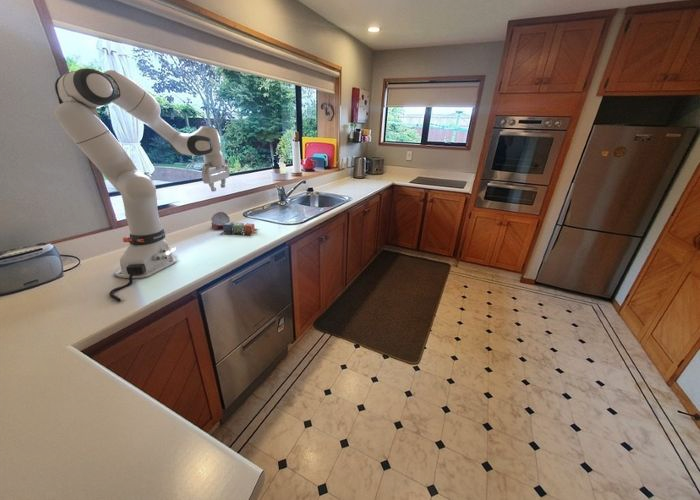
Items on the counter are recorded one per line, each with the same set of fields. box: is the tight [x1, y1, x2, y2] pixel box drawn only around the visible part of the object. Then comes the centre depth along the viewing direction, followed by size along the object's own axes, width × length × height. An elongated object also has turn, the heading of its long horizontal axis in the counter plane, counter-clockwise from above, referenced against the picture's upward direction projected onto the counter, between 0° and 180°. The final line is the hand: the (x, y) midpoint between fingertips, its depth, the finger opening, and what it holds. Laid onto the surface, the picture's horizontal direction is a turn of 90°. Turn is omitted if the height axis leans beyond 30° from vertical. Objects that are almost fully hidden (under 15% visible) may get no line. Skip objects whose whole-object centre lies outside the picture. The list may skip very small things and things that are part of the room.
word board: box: [219, 228, 258, 237], centre depth 159 cm, size 12×17×1 cm
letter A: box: [233, 222, 245, 233], centre depth 158 cm, size 4×4×4 cm
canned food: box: [210, 211, 231, 231], centre depth 164 cm, size 11×10×10 cm
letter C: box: [244, 223, 256, 235], centre depth 157 cm, size 4×4×4 cm
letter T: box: [222, 221, 235, 232], centre depth 158 cm, size 4×4×4 cm
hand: (218, 189), depth 145 cm, fingers open, 8 cm apart
